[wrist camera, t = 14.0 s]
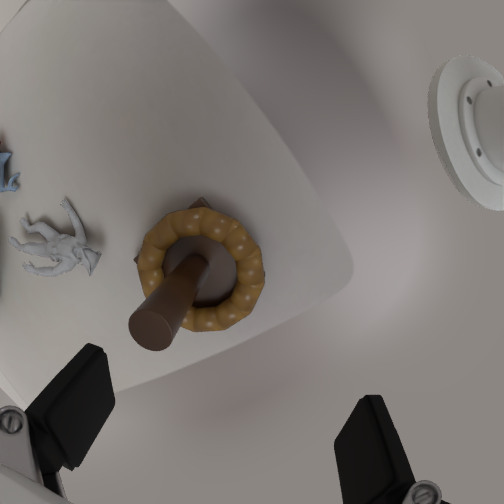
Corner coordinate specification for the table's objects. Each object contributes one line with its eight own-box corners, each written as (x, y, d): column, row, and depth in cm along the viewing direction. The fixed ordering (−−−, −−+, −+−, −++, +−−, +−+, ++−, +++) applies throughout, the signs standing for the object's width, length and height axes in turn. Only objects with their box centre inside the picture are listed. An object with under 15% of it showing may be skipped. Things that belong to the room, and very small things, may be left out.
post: (202, 196, 22) (147, 215, 11) (265, 272, 23) (265, 349, 12) (137, 256, 23) (62, 309, 13) (196, 322, 25) (158, 407, 14)
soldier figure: (35, 195, 23) (92, 193, 19) (60, 221, 27) (122, 229, 23) (-1, 253, 19) (42, 277, 15) (28, 277, 23) (82, 305, 19)
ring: (209, 180, 20) (203, 181, 18) (288, 281, 22) (290, 291, 20) (123, 257, 22) (112, 264, 20) (197, 342, 24) (192, 354, 22)
